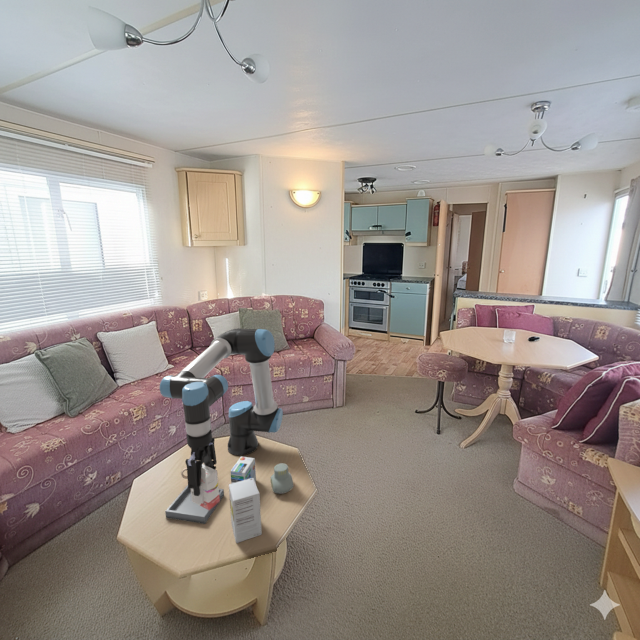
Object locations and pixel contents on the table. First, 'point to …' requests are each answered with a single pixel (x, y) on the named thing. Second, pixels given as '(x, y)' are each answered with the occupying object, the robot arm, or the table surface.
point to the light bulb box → (243, 470)
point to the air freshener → (281, 479)
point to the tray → (189, 508)
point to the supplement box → (245, 509)
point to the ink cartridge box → (208, 487)
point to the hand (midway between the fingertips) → (205, 494)
